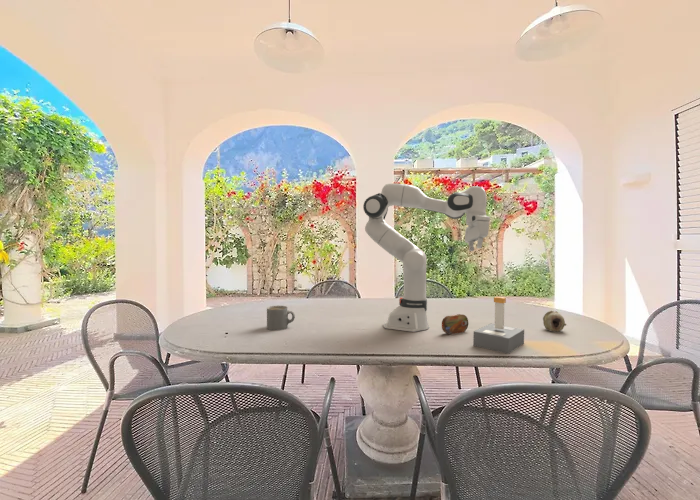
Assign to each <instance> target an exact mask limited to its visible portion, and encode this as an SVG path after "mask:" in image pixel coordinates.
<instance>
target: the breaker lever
mask: <svg viewBox="0 0 700 500" xmlns="http://www.w3.org/2000/svg"><path fill="white" fill-rule="evenodd" d="M493 303H494V324H495V328H497V329H502V330H503V329H504V326H505V304H506V303H507V297H502V296H494V297H493Z"/></svg>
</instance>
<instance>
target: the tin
mask: <svg viewBox="0 0 700 500" xmlns="http://www.w3.org/2000/svg"><path fill="white" fill-rule="evenodd" d="M468 328H469V319H468V317H467V316H466V315H465V314H460V313H458V314H457V313H456V314H453V315H452V314H451V315H446V316H444V318H443V319H442V320H441V330H442V332H443V333H445V334H448V335H457V334H459V333H460V334H461V333H465V331H467V329H468Z"/></svg>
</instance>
